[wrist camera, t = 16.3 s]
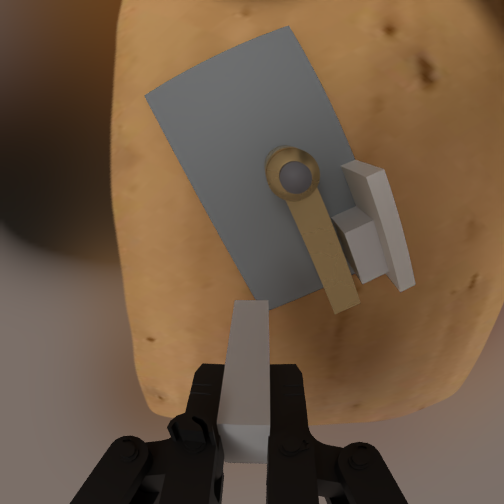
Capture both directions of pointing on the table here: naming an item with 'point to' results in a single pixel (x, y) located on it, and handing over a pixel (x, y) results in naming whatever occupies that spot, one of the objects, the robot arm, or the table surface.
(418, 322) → the table surface
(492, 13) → the table surface
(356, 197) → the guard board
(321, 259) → the swing bar
